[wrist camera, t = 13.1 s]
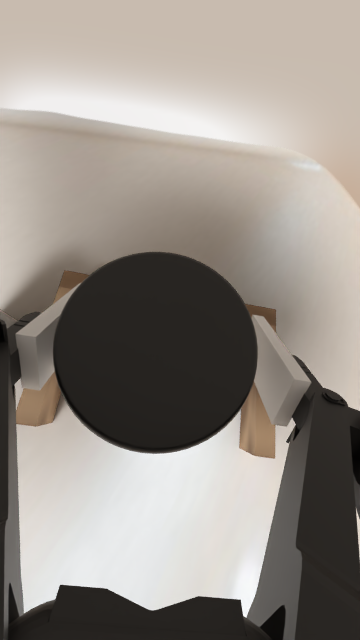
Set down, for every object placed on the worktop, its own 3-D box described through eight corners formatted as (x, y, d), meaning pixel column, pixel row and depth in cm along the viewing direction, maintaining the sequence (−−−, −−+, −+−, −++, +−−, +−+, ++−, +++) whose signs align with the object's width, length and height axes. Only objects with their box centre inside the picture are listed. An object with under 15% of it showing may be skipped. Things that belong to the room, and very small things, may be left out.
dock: (256, 450, 20) (275, 458, 17) (32, 419, 18) (11, 423, 16) (260, 320, 24) (275, 309, 21) (74, 286, 22) (64, 270, 19)
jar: (171, 445, 19) (213, 513, 8) (80, 399, 19) (-9, 402, 8) (213, 346, 22) (287, 293, 11) (134, 307, 22) (126, 214, 11)
